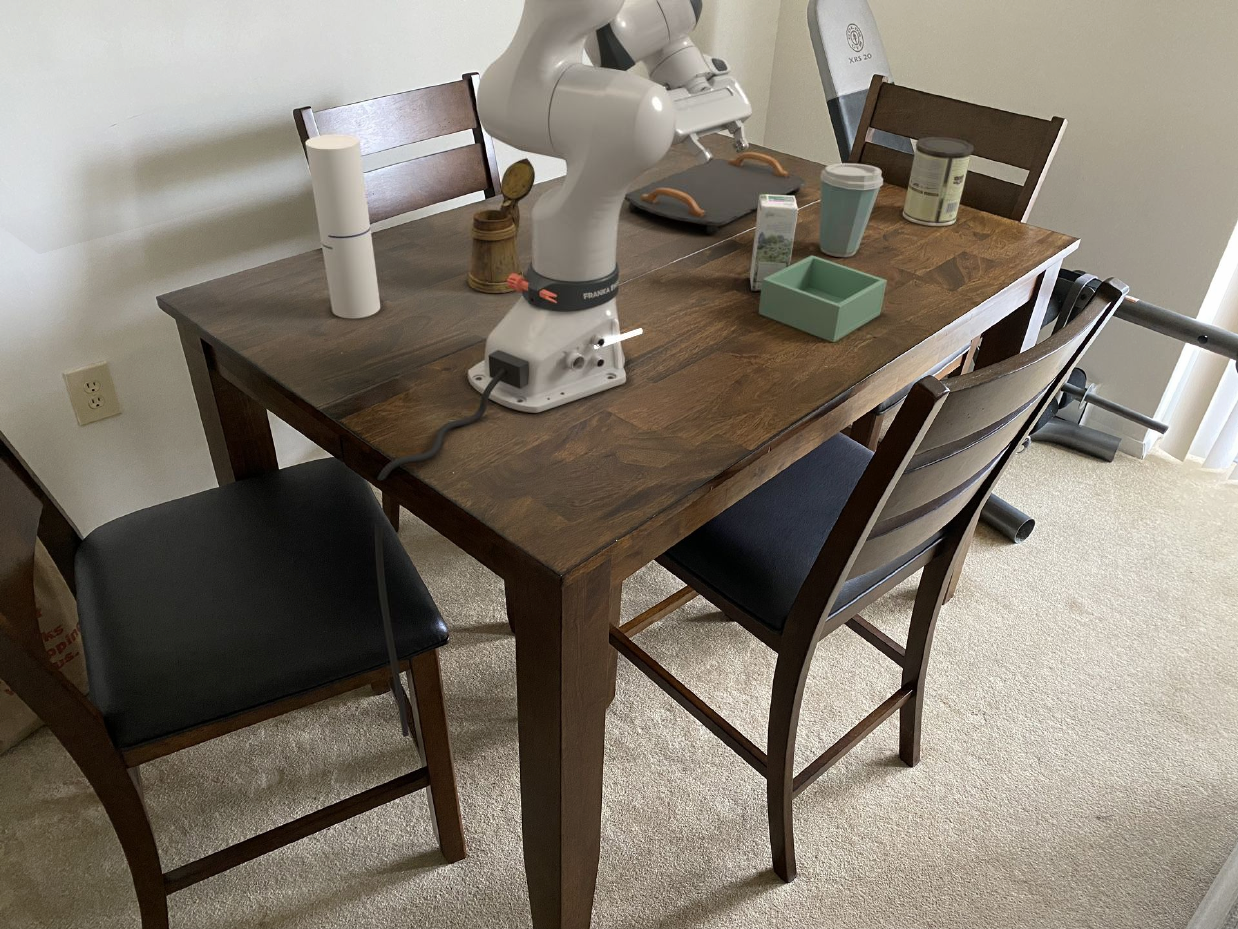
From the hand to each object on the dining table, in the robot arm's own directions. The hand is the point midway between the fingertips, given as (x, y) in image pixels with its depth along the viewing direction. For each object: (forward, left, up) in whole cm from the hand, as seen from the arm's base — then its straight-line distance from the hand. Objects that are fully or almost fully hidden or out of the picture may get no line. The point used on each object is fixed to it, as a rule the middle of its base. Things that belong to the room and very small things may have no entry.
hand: (726, 156), depth 149 cm
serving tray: (+26, +20, -19) cm, 38 cm away
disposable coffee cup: (+22, -11, -19) cm, 31 cm away
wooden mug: (-29, +21, -19) cm, 41 cm away
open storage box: (-3, -23, -19) cm, 30 cm away
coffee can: (+50, -14, -19) cm, 55 cm away
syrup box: (0, -11, -19) cm, 22 cm away
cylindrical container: (-53, +28, -19) cm, 63 cm away
